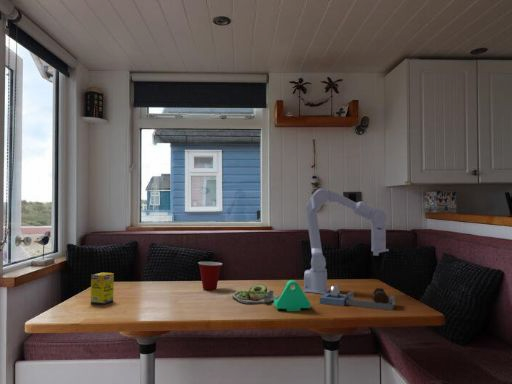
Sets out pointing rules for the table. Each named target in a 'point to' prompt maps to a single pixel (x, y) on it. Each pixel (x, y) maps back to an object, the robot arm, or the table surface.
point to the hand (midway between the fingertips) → (378, 270)
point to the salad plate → (255, 295)
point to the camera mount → (292, 298)
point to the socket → (333, 299)
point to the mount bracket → (370, 304)
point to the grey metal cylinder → (335, 291)
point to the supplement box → (102, 288)
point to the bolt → (380, 296)
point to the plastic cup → (209, 274)
